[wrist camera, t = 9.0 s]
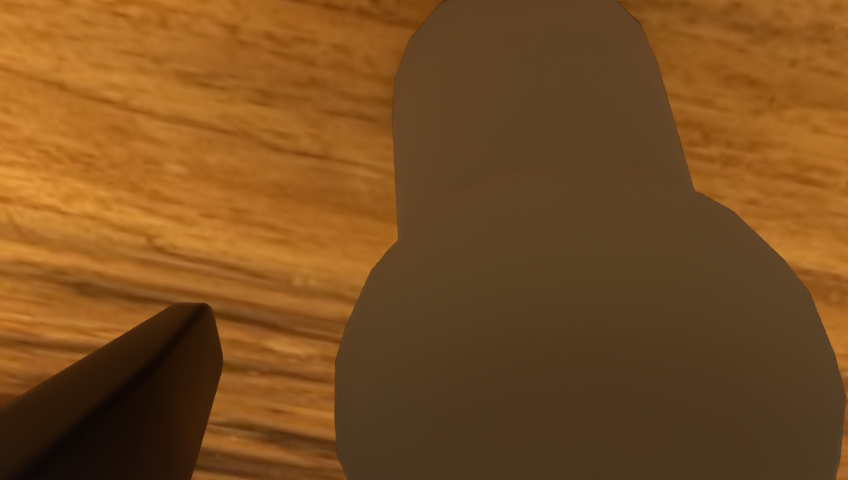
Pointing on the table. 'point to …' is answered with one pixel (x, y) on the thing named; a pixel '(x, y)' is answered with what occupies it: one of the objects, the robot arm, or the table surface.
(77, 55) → the table surface
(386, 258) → the brown game pawn
